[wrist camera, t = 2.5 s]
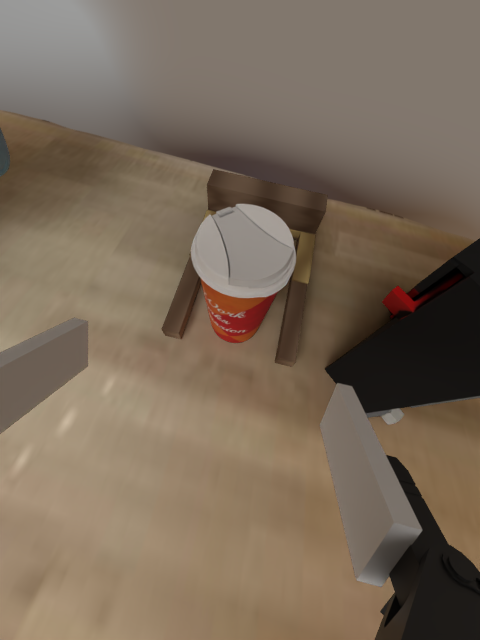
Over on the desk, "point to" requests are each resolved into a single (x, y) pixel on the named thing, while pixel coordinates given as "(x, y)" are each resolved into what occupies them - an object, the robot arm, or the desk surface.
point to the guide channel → (303, 222)
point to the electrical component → (421, 344)
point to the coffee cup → (242, 267)
